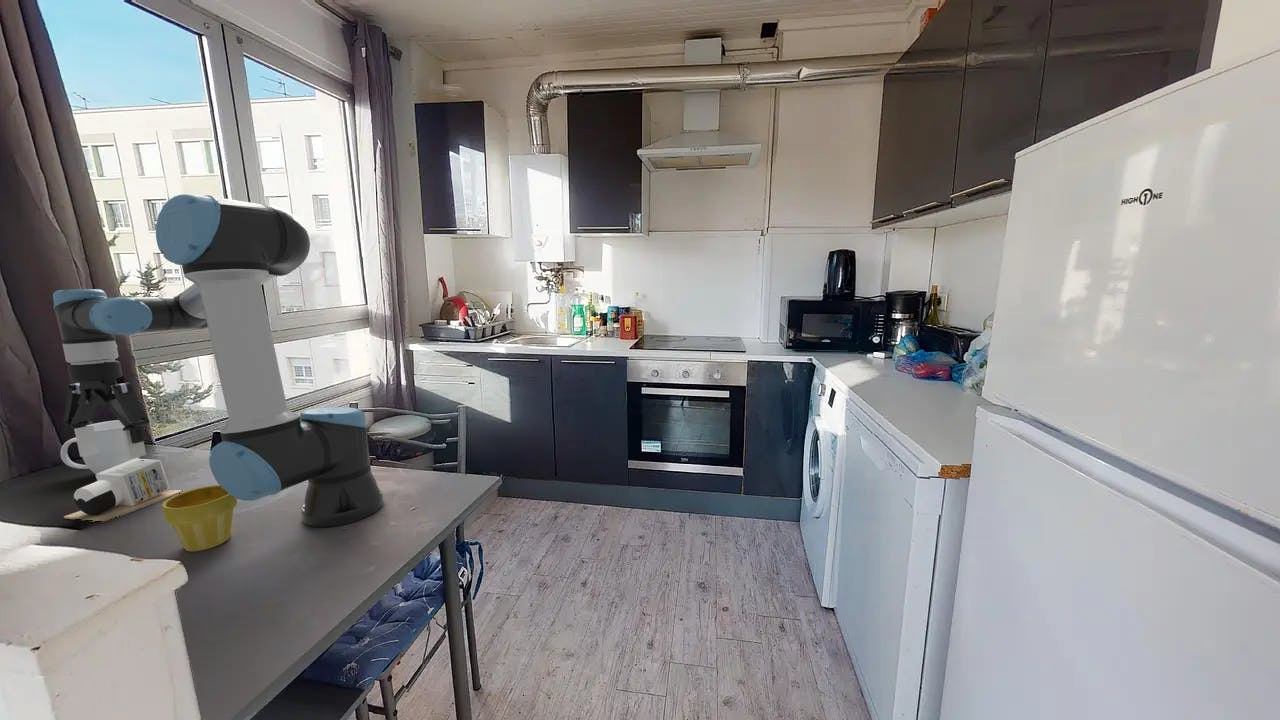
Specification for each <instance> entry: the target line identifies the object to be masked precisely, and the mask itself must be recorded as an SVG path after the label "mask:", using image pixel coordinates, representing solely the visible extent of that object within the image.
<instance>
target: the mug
mask: <svg viewBox="0 0 1280 720" xmlns="http://www.w3.org/2000/svg"><path fill="white" fill-rule="evenodd" d="M90 425H93V429H94V433H95V438H96V443H97V448H98V453H96V454H92V455H88V456H85V457H82V459H83V461H84V463H85V464H80V463H77V462H74V461H72V460H71V459H70V457H69V453H68V448H69V446H70V445H72V443H77V439H76V437H73V438H70V439H68V440H67V441H65V442H64V444H62V446H61V448H60V458H61V460H62V461H63V463H64V464H65V465H66V466H68V467H70V468H72V469H79V470H80V469H82V470H88V469H89V470H90V471H91V472H93V473H94V474H95V475H96V474H97V473H100V472H102V471H105V470H107V469H110V468H112V467H115V466H117V465H120V464H122V463H125V462H127V461H130V460H132V459H128V454H127V449H126V444H125V439H124V434H123V430H122V429H123V428H124V427H125V426H124V425H123V424H122V423H121V422H120V421H119V420H118V419H117V420H116V419H115V420H108V421H102V422H97V423H93V424H90ZM86 426H89V425H86ZM134 459H140V457H137V458H134Z"/></svg>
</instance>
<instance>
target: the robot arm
mask: <svg viewBox="0 0 1280 720" xmlns="http://www.w3.org/2000/svg"><path fill="white" fill-rule="evenodd" d="M155 240H156V244H157V247H158V250H159V252H160V253H161V254H162V255H163V258H164V259H166V260H167V262H169V263H172V264H175V265H179V266H181V269H182V274H183V276H184V278H185V279H186V280H188V281H190V282H192V283H193V284H191V285H190V286H189V287H188V288H186V289H185V290H183V291H182V292H180V293H179V294H178V295H175V296H146V297H145V296H142V297H134V296H133V297H126V296H118V297H116V296H113V297H108V295H107V293H106V292H105V291H104V290H103V289H97V288H96V289H82V288H81V289H59V290H56V291H54V292H53V293H52V299H53V310H54V313H55V317H56V320H57V323H58V328H59V329H58V330H59V334H60V338H61V341H62V349H63V352H64V353H63V354H64V357H65V358H64V359H65V362H66V363H70V364H68V366H67V371H68V376H69V381H71V382H73V383H70V384H67V386H66V388H67V400H66V403H65V410H64V416H63V422H62V423H63V424H64V425H65V426H68V425H69V426H70V428H72V429H73V430H74V434H75V438H76V439H77V442H76V443H77V448H78V452H79V457H80V458H83V457H85V456H88V455H92V454H96V453H98V448H97V443H96V438H95V433H94V429H93V425H91V424H94V423H93V421H92V418H93V416H94V414H95V413H96V410H97V408H98V405H99V406H102V407H104V408H108V410H110V411H111V413H112V414H113V415H114V416H115V418H116V419H117V420H119V421H120V422H121V423H122V424H123V425H124V426H125V427H124V428H123V429H122V430H123V434H124V439H125V444H126V449H127V454H128V459H134V458H137V457H139V458H140V457H143V456H147V453H146V452H147V451H146V447H145V442H144V440H145V439H144V435H143V429H142V428H143V427H144V426H146V425H149V424H150V419H149V417H148V416H147V414H146V413H145V412H146V411H144V409H143V407H142V406H141V404H140V402H139V401H138V399H137V398H136V396H135V394H134V392H133V389H132V385H131V383H130V382H124V383H118V382H117V379H118V378H121V377H122V376H123V371H122V365H121V362H120V361H119V360H117V359H118V358H119V352H118V351H119V350H118V344H117V342H116V336H127V335H135V334H141V333H142V334H143V333H151V332H152V333H153V332H165V331H180V330H195V329H196V330H202V329H208V333H209V338H210V341H211V347H212V351H213V355H214V360H215V364H216V369H217V373H218V378H219V381H220V385H221V391H222V394H223V399H224V404H225V408H226V412H227V415H228V420H227V422H226V423H225V424H224V426H223V427H222V428H220V431H219V432H220V436H221V441H220V442H219V443H217V444H215V446H213V447H212V448H211V450H210V452H209V454H210V455H209V457H208V462H209V463H208V464H209V467H210V471H211V473H212V476H213V478H214V479H215V481H216V482H217V485H220V486H221V487H222V488H223V489H224V490H225V491H226V492H227V493H229V494H230V495H231V496H233V497H235V498H237V500H240V501H244V502H246V501H248V502H251V501H258V500H261V499H262V498H265V497H266V498H267V497H269V496H275V495H276V494H278V493H281V491H284V490H286V489H289V488H291V487H294V486H296V485H299V484H301V483H304V482H306V481H307V484H308V485H307V488H306V491H305V496H304V502H303V503H304V504H303V505H302V508H301V519H302V523H303V524H305V525H306V526H309V527H313V528H328V527H329V528H330V527H338V526H342V525H347V524H350V523H354V522H357V521H360V520H362V519H365V518H367V517H369V516H371V515H372V514H375V513H376V512H377V511H379V510H380V509H381V508H382V506H383V504H384V498H383V497H384V496H383V492H382V490H381V488H380V487H379V486H378V483H377V480H376V478H375V477H374V474H373V472H372V468H371V456H370V447H369V445H370V444H369V433H368V427H369V426H368V425H367V422H366V421H367V420H366V415H365V413H364V411H363V410H362V409H360V408H355V407H349V406H348V407H345V406H344V407H343V406H339V407H337V406H334V407H333V406H332V407H318V408H310V409H305V410H303V411H301V412H300V414H298V413H296V412H294V411H293V410H290V409H289V408H288V404H287V400H286V396H285V391H284V386H283V381H282V376H281V372H280V367H279V362H278V358H277V352H276V349H275V343H274V339H273V334H272V330H271V325H270V320H269V315H268V312H267V307H266V301H265V298H264V292H263V287H262V285H265V284H266V283H267V282H269V281H270V280H271V279H273V278H274V277H283V276H287V275H289V274H290V273H292V272H293V271H295V270H296V269H298V268H299V267H301V265H302V264H304V262H305V261H306V259H307V258H308V256H309V253H310V248H311V242H310V241H311V240H310V236H309V234H308V230H307V229H306V228H305V226H304V224H303V223H302V222H301V221H300V220H299V219H298V218H297V217H296V216H294V215H293V214H292V213H290V212H289V211H287V210H284V209H283V208H280V207H278V206H274V205H270V204H269V205H268V204H261V203H260V204H259V203H254V202H247V201H242V200H238V199H237V200H236V199H230V198H223V197H220V196H219V197H218V196H217V197H216V196H213V195H210V194H209V195H208V194H205V195H200V194H199V195H198V194H189V193H187V194H186V193H181V194H177V195H175V196H173V197H171V198H169V199H168V200H167V201H166V202H165V203H164V204H163V206H162V207H161V210H160V212H159V213H158V215H157V220H156V223H155ZM87 425H89V426H87Z"/></svg>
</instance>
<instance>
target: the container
mask: <svg viewBox="0 0 1280 720" xmlns="http://www.w3.org/2000/svg"><path fill="white" fill-rule="evenodd" d="M94 476H95V478H96V481H95V482H92V483H90V484H87V485H84V486H82V487H80V488H78V489H76V490H75V491H74V494H73V501H74V504H75V506H76V507H77V508H78V509H79V511H82V512H84V513H86V514H88V515H97V514H100V513H102V512H104V511H106V510H108V509H110V508H113V507H115V506H117V505H123V506H135V505H137V504H139V503H141V502H143V501H145V500H148V499H150V498H152V497H154V496H156V495H158V494H160V493H162V492H164V491H166V490H169V489H170V490H171V488H170V484H169V481H168V478H167V476H166V473H165V469H164V467H163V464H162V461H161V460H159V459H147V458H139V459H132V460H130V461H127V462H125V463H122V464H120V465H117V466H115V467H112V468H110V469H107V470H105V471H102V472H100V473H97V474H95V475H94Z"/></svg>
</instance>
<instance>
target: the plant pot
mask: <svg viewBox="0 0 1280 720" xmlns="http://www.w3.org/2000/svg"><path fill="white" fill-rule="evenodd" d="M237 505H238V499H237V498H235V497H233V496H231V495H230V494H229V493H227V492H226V491H225V490H224V489H223V488H222V487H221V486H220V485H219V484H213V485H207V486H206V485H205V486H202V487H197V488H194V489H190V490H186V491H183V492H182V493H180V494H177V495H174V496H172V497H169V498H167V499H165V501H163V503H162V504H161V508H162V509H161V510H162V514H163V518H164V522H165V523H167V524H168V525H171V527H172V528H173V529H174V532H175V533H176V535H177V537H178V539H179V541H180V542H181V545H182V547H183V549H184V550H185V551H186V552H192V553H193V552H200V551H206V550H209V549H212V548H215V547H217V546H220V545H222V544H224V543H225V542H226V541H228V540H229V539H230V538H231V537H232V527H233V526H232V525H233V516H234V509H235V507H236V506H237Z"/></svg>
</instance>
